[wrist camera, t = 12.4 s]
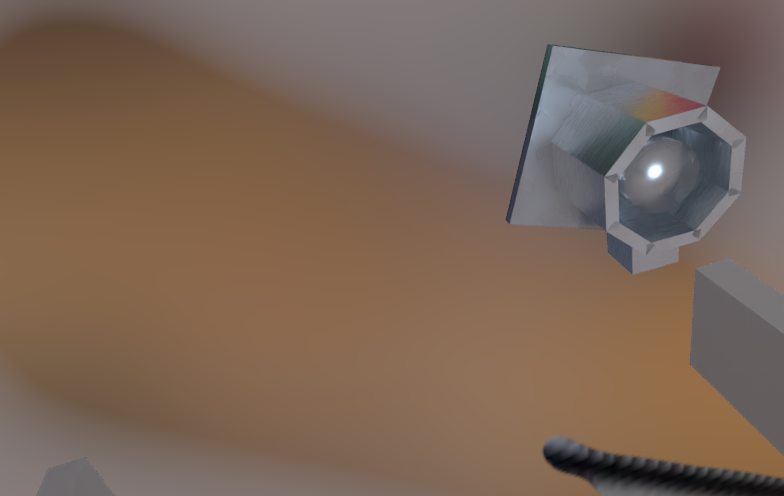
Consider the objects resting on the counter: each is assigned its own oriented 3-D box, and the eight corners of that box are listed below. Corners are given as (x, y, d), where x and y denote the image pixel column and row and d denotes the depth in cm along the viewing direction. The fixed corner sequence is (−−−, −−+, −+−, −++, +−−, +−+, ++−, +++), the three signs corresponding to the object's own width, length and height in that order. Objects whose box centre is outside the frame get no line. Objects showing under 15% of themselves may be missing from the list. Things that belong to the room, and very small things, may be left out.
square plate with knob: (505, 219, 40) (544, 264, 34) (547, 44, 35) (602, 60, 29) (652, 228, 43) (712, 271, 37) (712, 65, 37) (793, 84, 31)
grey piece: (547, 105, 36) (602, 134, 30) (671, 71, 36) (749, 93, 30) (560, 249, 41) (608, 300, 35) (668, 218, 41) (734, 263, 35)
